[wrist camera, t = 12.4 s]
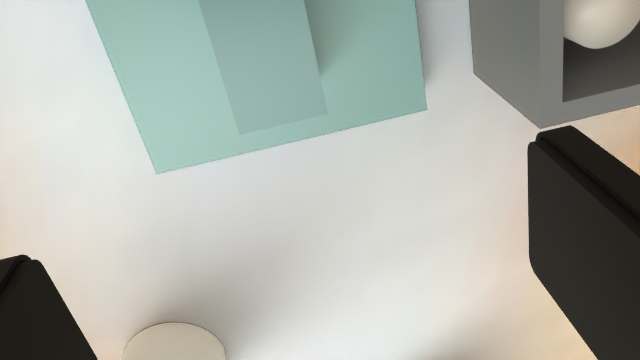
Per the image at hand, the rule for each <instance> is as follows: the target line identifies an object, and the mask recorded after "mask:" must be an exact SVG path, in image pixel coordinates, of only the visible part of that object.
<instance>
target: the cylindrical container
mask: <svg viewBox="0 0 640 360" xmlns="http://www.w3.org/2000/svg"><path fill="white" fill-rule="evenodd" d="M122 360H226V354H225V350H224V348H223V345H222V344H221V342H220V341H219V340H218V339H217V337H215V336H214V335H213V334H212V333H210V332H209V331H207V330H205V329H203V328H201V327H198V326H195V325H192V324H187V323H176V322H171V323H162V324H158V325H154V326H151V327H149V328H146V329H144V330H142V331H141V332H139V333H138V334H136V335H135V336H134V337H133V338H132V339H131V340H130V341H129V343H128V345H127V346H126V348H125V351H124V355H123V359H122Z"/></svg>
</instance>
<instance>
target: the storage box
mask: <svg viewBox="0 0 640 360" xmlns="http://www.w3.org/2000/svg"><path fill="white" fill-rule="evenodd" d="M469 9H470V24H471V39H472V54H473V69H474V74H475V75H476V76H477V77H478V78H480V79H481V80H482V81H483V82H484V83H486V84H487V85H488V86H489V87H490V88H492V89H493V90H494V91H495V92H496V93H498V94H499V95H500V96H501V97H502V98H504V99H505V100H506V101H507V102H508V103H510V104H511V105H512V106H513V107H514V108H516V109H517V110H518V111H519V112H520V113H522V114H523V115H524V116H525V117H526V118H528V119H529V120H530V121H531V122H532V123H534V124H535V125H536V126H537V127H538V128H540V129H541V128H545V127H550V126H554V125H558V124H562V123H566V122H570V121H575V120H579V119H583V118H587V117H591V116H595V115H599V114H604V113H608V112H612V111H616V110H620V109H624V108H629V107H633V106H637V105H640V0H469Z"/></svg>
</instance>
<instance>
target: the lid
mask: <svg viewBox="0 0 640 360" xmlns="http://www.w3.org/2000/svg"><path fill="white" fill-rule="evenodd" d="M85 1H86V3H87V6H88V8H89V11H90V13H91V15H92V18H93V20H94V23H95V25H96V28H97V30H98V33H99V35H100V37H101V40H102V42H103V45H104V47H105V50H106V52H107V55H108V57H109V59H110V62H111V64H112V67H113V69H114V72H115V74H116V77H117V79H118V81H119V84H120V86H121V89H122V91H123V94H124V96H125V99H126V101H127V103H128V106H129V108H130V111H131V113H132V116H133V118H134V121H135V123H136V125H137V128H138V130H139V133H140V135H141V138H142V140H143V143H144V145H145V147H146V150H147V152H148V155H149V157H150V160H151V162H152V165H153V167H154V169H155V172H156V174H161V173H165V172H169V171H173V170H177V169H182V168H186V167H190V166H194V165H198V164H203V163H207V162H211V161H215V160H219V159H223V158H228V157H232V156H236V155H240V154H244V153H249V152H253V151H257V150H261V149H265V148H270V147H274V146H278V145H282V144H286V143H291V142H295V141H299V140H303V139H307V138H312V137H316V136H320V135H324V134H328V133H333V132H337V131H341V130H345V129H349V128H353V127H358V126H362V125H366V124H370V123H374V122H379V121H383V120H387V119H391V118H395V117H400V116H404V115H408V114H412V113H416V112H421V111H425V110H427V104H426V96H425V87H424V78H423V69H422V60H421V52H420V43H419V34H418V25H417V16H416V8H415V0H85Z"/></svg>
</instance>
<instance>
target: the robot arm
mask: <svg viewBox="0 0 640 360" xmlns="http://www.w3.org/2000/svg"><path fill="white" fill-rule="evenodd" d="M527 152H528V216H529V259H530V263H531V266H532V269H533V271H534V273H535V274H536V276H537V277H538V279H539V280H540V281H541V283H542V284H543V285H544V287H545V288H546V290H547V291H548V292H549V294H550V295H551V296H552V298H553V299H554V300H555V302H556V303H557V304H558V306H559V307H560V309H561V310H562V311H563V313H564V314H565V315H566V317H567V318H568V319H569V321H570V322H571V324H572V325H573V326H574V328H575V329H576V330H577V332H578V333H579V334H580V336H581V337H582V339H583V340H584V341H585V343H586V344H587V345H588V347H589V348H590V349H591V351H592V352H593V354H594V355H595V356H596V358H597V359H598V360H640V176H639V175H638V174H637V173H635V172H634V171H633V170H631V169H630V168H629V167H627V166H626V165H625V164H623V163H622V162H621V161H619V160H618V159H617V158H615V157H614V156H612V155H611V154H610V153H608V152H607V151H606V150H604V149H603V148H602V147H600V146H599V145H598V144H596V143H595V142H594V141H592V140H591V139H590V138H588V137H587V136H586V135H584V134H583V133H582V132H580V131H579V130H577V129H576V128H575V127H573V126H571V125H570V126H565V127H560V128H556V129H552V130H548V131H543V132H539V133H538V134H537V137H536V141H534V142H530V143H529V145H528V151H527ZM0 360H97V357H96V355H95V354H94V352H93V350H92V349H91V347H90V345H89V343H88V342H87V340H86V338H85V337H84V335H83V333H82V331H81V330H80V328H79V326H78V325H77V323H76V321H75V319H74V318H73V316H72V314H71V313H70V311H69V309H68V307H67V306H66V304H65V302H64V301H63V299H62V297H61V295H60V294H59V292H58V290H57V289H56V287H55V285H54V283H53V282H52V280H51V278H50V277H49V275H48V273H47V271H46V270H45V268H44V266H43V265H42V263H41V262H39V261H38V260H31V258H29V257H28V256H27V255H18V256H14V257H10V258H6V259H1V260H0Z"/></svg>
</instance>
